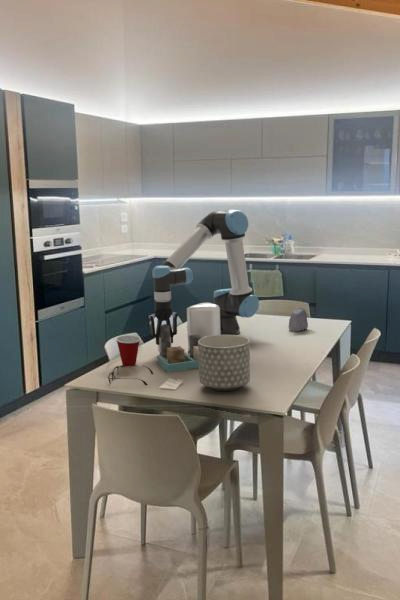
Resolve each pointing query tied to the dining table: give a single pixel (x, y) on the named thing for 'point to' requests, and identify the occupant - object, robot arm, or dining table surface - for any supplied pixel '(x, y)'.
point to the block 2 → (194, 346)
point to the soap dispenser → (203, 320)
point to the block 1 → (170, 352)
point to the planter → (224, 361)
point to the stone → (298, 320)
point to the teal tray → (179, 364)
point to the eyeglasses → (125, 378)
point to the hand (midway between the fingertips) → (164, 350)
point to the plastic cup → (128, 349)
